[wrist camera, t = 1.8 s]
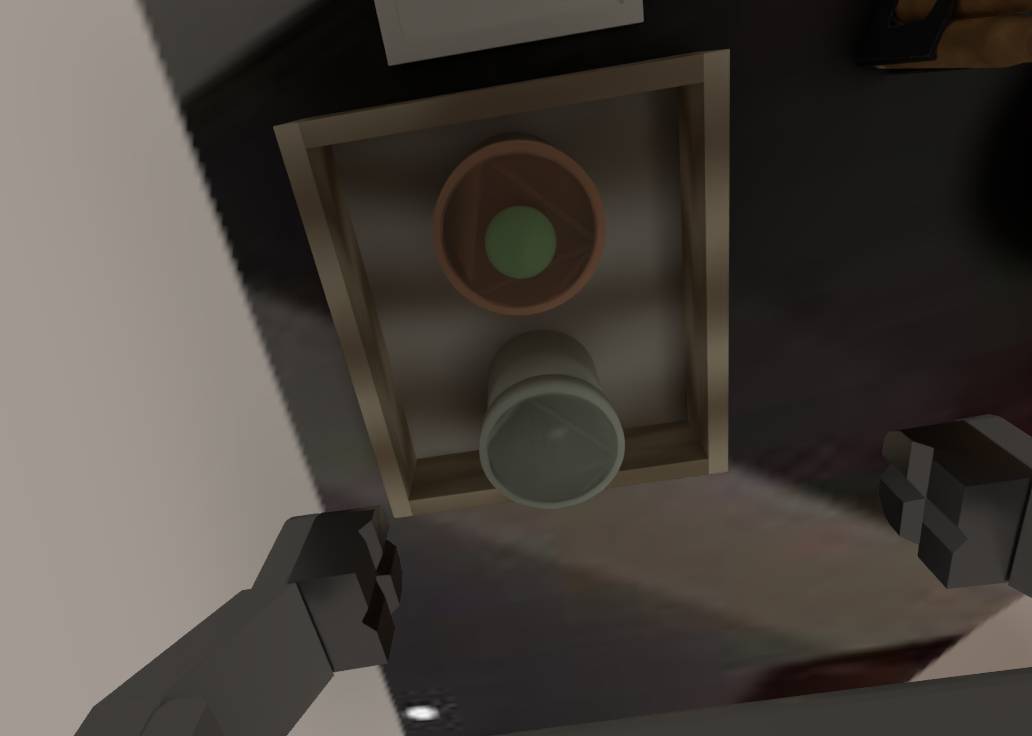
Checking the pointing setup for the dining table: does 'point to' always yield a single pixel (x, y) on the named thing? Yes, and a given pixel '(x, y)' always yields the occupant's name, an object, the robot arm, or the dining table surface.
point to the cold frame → (585, 317)
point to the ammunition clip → (947, 35)
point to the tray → (490, 23)
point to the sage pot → (548, 423)
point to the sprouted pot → (518, 225)
